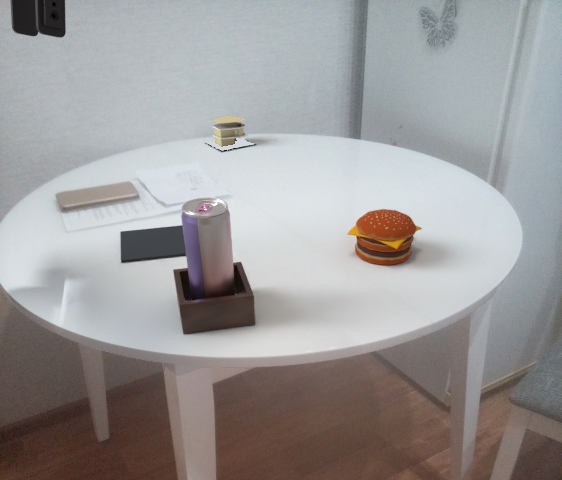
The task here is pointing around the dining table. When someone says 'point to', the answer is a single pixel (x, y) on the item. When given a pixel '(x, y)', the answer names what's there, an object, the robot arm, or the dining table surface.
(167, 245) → the mat
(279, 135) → the dining table surface
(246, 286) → the box
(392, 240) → the hamburger
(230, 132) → the stacked layers on plate
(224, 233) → the beverage can
